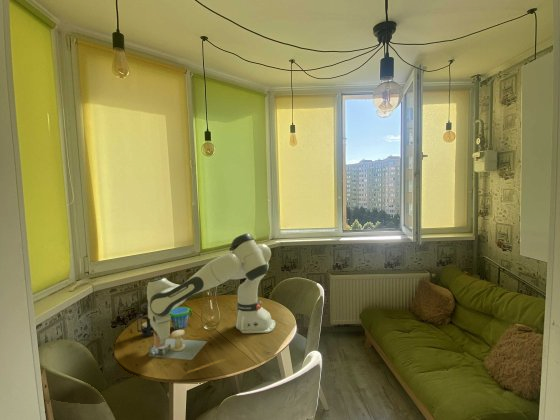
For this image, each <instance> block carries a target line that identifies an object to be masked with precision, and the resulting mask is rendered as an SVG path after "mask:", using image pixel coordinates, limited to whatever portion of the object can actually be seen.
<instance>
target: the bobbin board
mask: <svg viewBox="0 0 560 420" xmlns="http://www.w3.org/2000/svg"><path fill="white" fill-rule="evenodd" d="M185 333H186V332H185V330H184V329H179V330H173V331H172V332H171V337H172V338H170V337H169V338H166V339H165V346H162V347H159V348H158V349H164V348H165V347H166V346H167V345H168V344H171V350H170V351H169V352H168V353H167V354H166V355H165V356H159V355H149V354H148V355H147V356H148V357H154V358H155V357H156V358H165V359H166V358H167V359H168V358H170V359H176V360H178V359H179V360H188V361H192V360H193V359H194V358H195V357H196V356H197V354H199V352H200V351H201V350H202V349H203V347H204V346H205V345H206V344H207V343H208V341H205V340H193V339H184V338H183V336H184V335H185Z"/></svg>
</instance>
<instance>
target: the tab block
mask: <svg viewBox="0 0 560 420" xmlns="http://www.w3.org/2000/svg"><path fill="white" fill-rule="evenodd" d="M153 332H154V331H153ZM165 340H166V339H164V343H162V344H160V343H159V336H158V335H157V333H156V332H154V336H153V345H155V347H156V348H159V347H162V346H165Z"/></svg>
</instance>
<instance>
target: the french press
mask: <svg viewBox="0 0 560 420" xmlns="http://www.w3.org/2000/svg"><path fill="white" fill-rule="evenodd" d="M144 296H146V297H147V292H146V293H145V294H144ZM140 310H141V311H142V312H141V314H140V313H139V314H137V315H136V324H137V326H136V327H137V332H138V333H140V332H141V336H142V337H144V338H150V337H154V332H155V330H154V329H153V328H152V326H151V324H150V319H149V318H148V316H144V315H148V301H147V302H143V303H142V304H141V305H140ZM139 317H140V320H139ZM143 320H146V321H145V322H144V321H143ZM139 321H140V324H139ZM140 326H141V329H139V328H140Z"/></svg>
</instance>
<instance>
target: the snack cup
mask: <svg viewBox="0 0 560 420" xmlns="http://www.w3.org/2000/svg"><path fill="white" fill-rule="evenodd" d="M170 316H171V319H170V321H171V325H172V328H173V331H176V330H184V329H186V328H187V327H188V321H189V317H190V318H193V316H194V313H193V310H192V309H191V308H190V307H187V306H178V307H176V308H175V309H173V310H172V311H171V312H170Z"/></svg>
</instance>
